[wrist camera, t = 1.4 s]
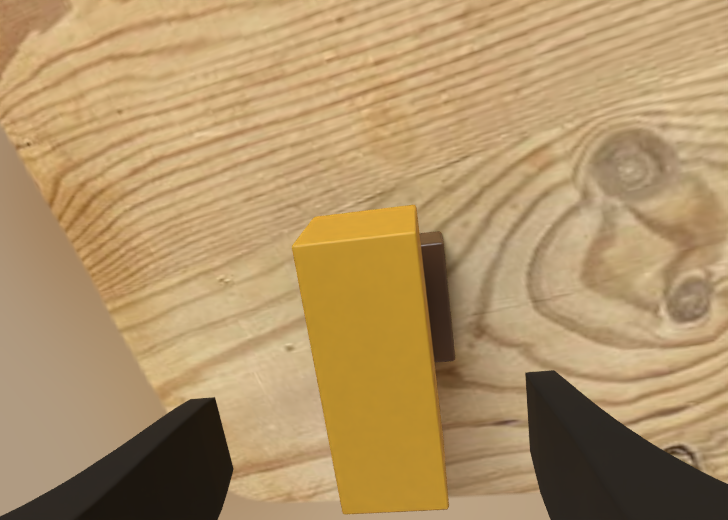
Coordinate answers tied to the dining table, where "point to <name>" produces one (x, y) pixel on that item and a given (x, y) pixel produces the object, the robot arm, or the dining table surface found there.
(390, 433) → the bar
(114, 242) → the dining table surface
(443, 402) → the dining table surface
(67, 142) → the dining table surface
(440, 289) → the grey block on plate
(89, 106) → the dining table surface
